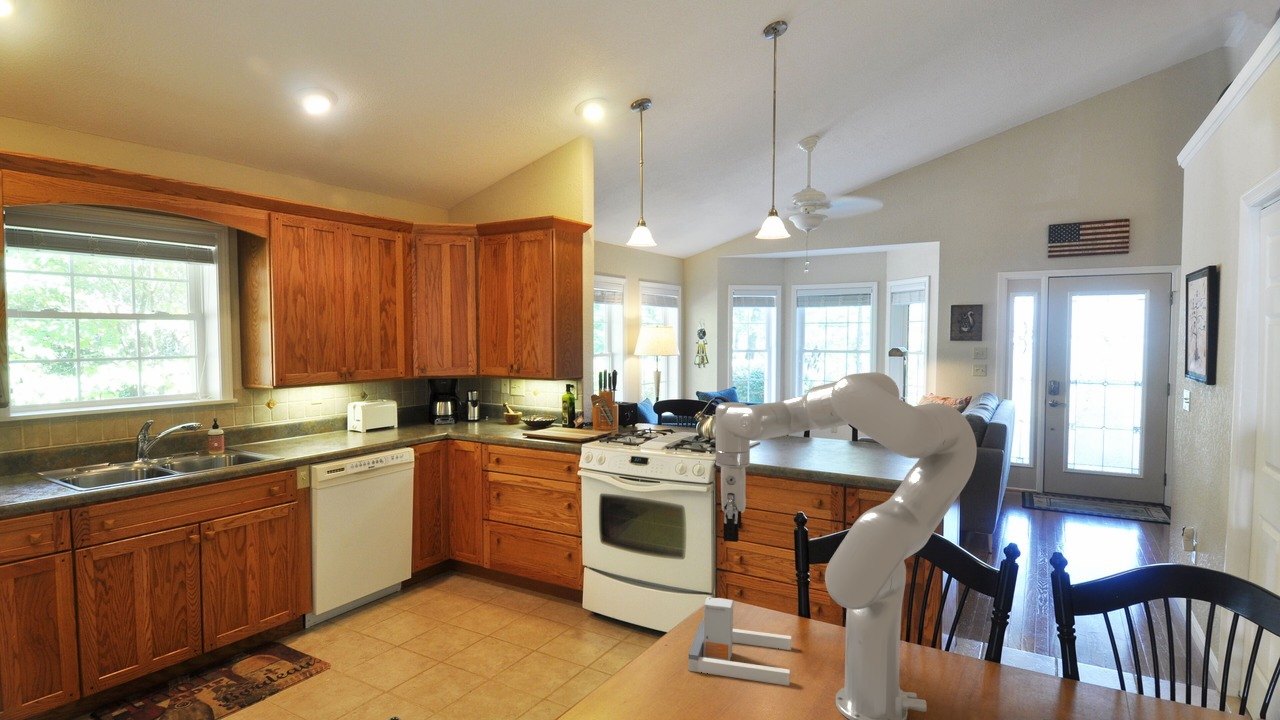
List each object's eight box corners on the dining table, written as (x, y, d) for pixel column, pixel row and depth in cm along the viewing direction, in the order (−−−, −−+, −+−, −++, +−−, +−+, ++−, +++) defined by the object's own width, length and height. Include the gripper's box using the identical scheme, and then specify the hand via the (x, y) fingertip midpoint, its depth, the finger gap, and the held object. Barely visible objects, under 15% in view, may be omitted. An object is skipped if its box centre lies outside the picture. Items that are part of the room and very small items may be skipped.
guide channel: (791, 646, 140) (791, 631, 140) (789, 685, 124) (789, 668, 124) (700, 634, 145) (701, 620, 145) (688, 670, 130) (688, 654, 129)
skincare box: (702, 658, 135) (703, 604, 134) (705, 648, 139) (706, 596, 138) (730, 662, 133) (731, 607, 132) (732, 652, 137) (733, 599, 137)
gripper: (747, 466, 129) (747, 548, 130) (751, 452, 146) (751, 524, 146) (711, 465, 131) (711, 545, 131) (719, 450, 148) (719, 522, 148)
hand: (732, 534), depth 139 cm, fingers open, 9 cm apart
